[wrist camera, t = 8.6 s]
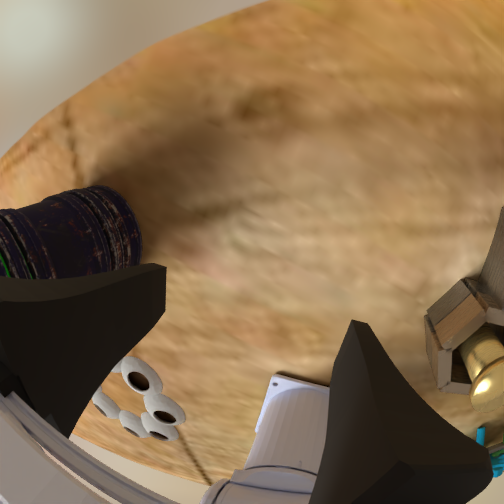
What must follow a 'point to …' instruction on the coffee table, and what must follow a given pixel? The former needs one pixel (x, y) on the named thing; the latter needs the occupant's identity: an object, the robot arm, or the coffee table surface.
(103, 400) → the ring
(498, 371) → the hinge pin
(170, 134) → the coffee table surface
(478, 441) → the gear
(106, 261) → the storage jar
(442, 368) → the hinge
